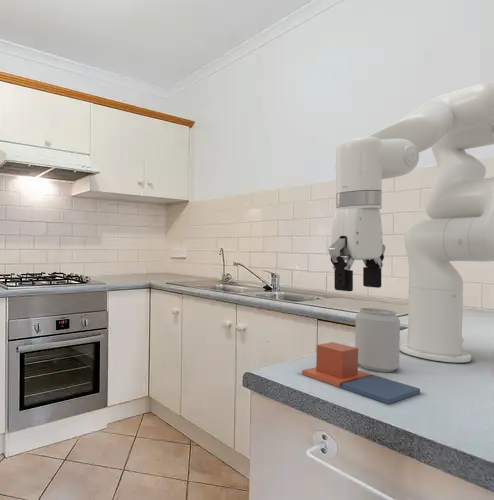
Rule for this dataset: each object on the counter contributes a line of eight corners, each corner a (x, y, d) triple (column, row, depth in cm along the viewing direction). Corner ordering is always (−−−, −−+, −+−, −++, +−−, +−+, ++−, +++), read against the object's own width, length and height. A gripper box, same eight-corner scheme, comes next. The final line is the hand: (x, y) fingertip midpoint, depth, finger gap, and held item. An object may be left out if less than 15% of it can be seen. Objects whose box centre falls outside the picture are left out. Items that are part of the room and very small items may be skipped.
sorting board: (333, 366, 75) (333, 362, 75) (420, 393, 62) (420, 388, 62) (302, 374, 71) (302, 370, 71) (388, 404, 57) (388, 399, 57)
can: (357, 359, 81) (358, 305, 81) (399, 366, 76) (400, 309, 76) (352, 367, 75) (353, 309, 75) (398, 376, 70) (399, 314, 70)
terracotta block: (331, 366, 73) (332, 341, 73) (357, 374, 68) (358, 348, 68) (316, 370, 71) (316, 344, 71) (342, 378, 66) (342, 351, 66)
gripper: (363, 205, 79) (363, 284, 80) (312, 202, 71) (312, 290, 72) (403, 202, 72) (402, 287, 73) (352, 198, 64) (352, 294, 65)
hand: (358, 288), depth 72 cm, fingers open, 9 cm apart
